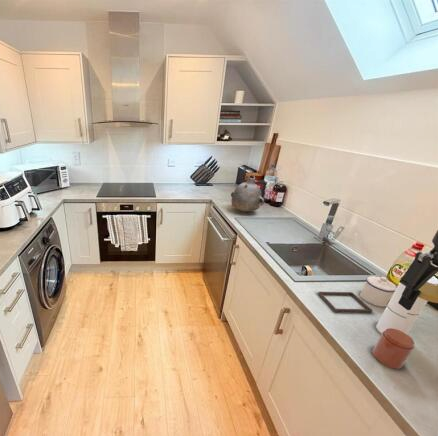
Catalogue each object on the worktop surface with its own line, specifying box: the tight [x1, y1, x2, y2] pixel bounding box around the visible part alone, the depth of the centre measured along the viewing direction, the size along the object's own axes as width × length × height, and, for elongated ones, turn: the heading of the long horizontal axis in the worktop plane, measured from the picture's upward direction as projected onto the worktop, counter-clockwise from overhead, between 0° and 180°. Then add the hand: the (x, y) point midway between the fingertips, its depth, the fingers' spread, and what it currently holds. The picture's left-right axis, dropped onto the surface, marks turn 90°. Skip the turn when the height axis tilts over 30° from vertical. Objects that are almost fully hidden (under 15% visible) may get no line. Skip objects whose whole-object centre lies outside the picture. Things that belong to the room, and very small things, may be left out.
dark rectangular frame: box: [317, 291, 373, 314], centre depth 96 cm, size 14×10×2 cm
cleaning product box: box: [242, 179, 268, 203], centre depth 205 cm, size 16×9×20 cm, turn 88°
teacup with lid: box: [359, 275, 397, 308], centre depth 97 cm, size 12×9×12 cm
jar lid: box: [418, 282, 438, 303], centre depth 63 cm, size 7×7×2 cm
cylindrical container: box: [375, 269, 438, 335], centre depth 78 cm, size 7×7×25 cm
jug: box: [230, 174, 265, 213], centre depth 184 cm, size 24×21×30 cm
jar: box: [372, 328, 415, 370], centre depth 72 cm, size 7×7×10 cm
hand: (418, 306), depth 66 cm, fingers closed on jar lid, 7 cm apart
